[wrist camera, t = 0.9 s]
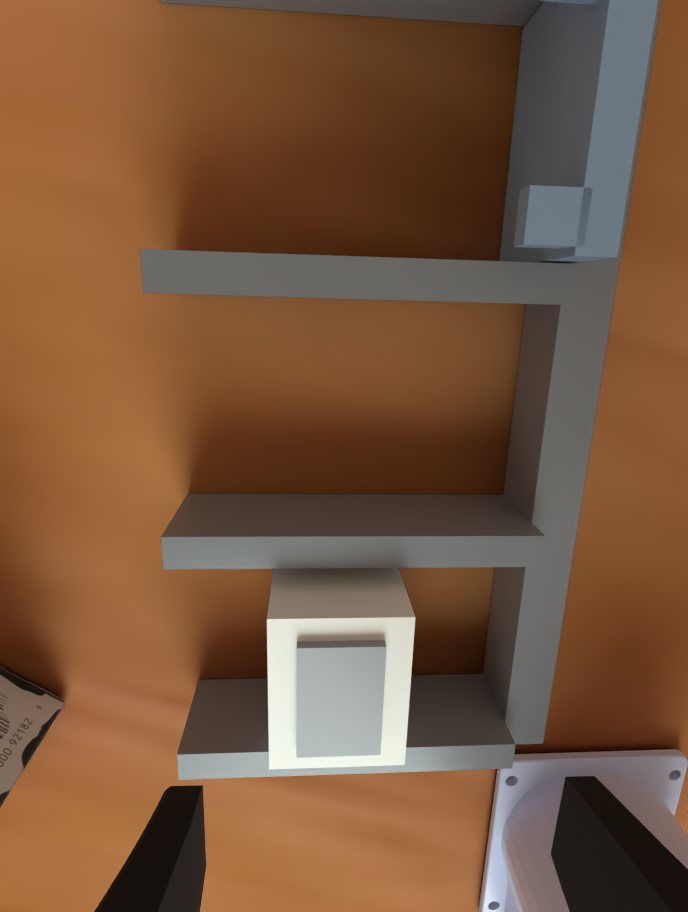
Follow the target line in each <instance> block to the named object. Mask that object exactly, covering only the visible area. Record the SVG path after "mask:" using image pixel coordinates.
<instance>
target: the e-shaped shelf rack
mask: <svg viewBox="0 0 688 912" xmlns="http://www.w3.org/2000/svg"><path fill="white" fill-rule="evenodd" d="M159 1H160V3H175V4H190V5H205V6H220V7H236V8H251V9H266V10H281V11H296V12H312V13H327V14H342V15H357V16H373V17H388V18H403V19H418V20H433V21H449V22H464V23H479V24H494V25H509V26H524V28H523V31H522V41H521V51H520V61H519V71H518V81H517V91H516V101H515V111H514V121H513V131H512V140H511V150H510V160H509V170H508V180H507V190H506V200H505V210H504V220H503V230H502V240H501V249H500V259H499V261H481V260H451V259H422V258H393V257H363V256H334V255H305V254H275V253H246V252H217V251H187V250H158V249H140V258H141V272H142V285H143V293H161V294H182V295H217V296H253V297H288V298H323V299H358V300H393V301H429V302H464V303H499V304H525V313H524V321H523V330H522V338H521V347H520V356H519V364H518V373H517V382H516V390H515V399H514V407H513V416H512V425H511V433H510V442H509V451H508V459H507V468H506V476H505V485H504V494H187V496H186V498H185V499H184V501H183V502H182V504H181V506H180V507H179V509H178V511H177V512H176V514H175V515H174V517H173V519H172V520H171V522H170V523H169V525H168V527H167V528H166V530H165V531H164V533H163V535H162V536H161V544H162V557H163V569H303V568H448V567H495V571H494V580H493V588H492V597H491V606H490V614H489V623H488V632H487V640H486V649H485V657H484V666H483V674H445V675H411V686H410V700H409V714H408V727H407V741H406V755H405V765H391V766H361V767H330V768H299V769H269V732H268V678H255V679H208V680H198V684H197V687H196V691H195V694H194V697H193V701H192V704H191V708H190V711H189V715H188V718H187V722H186V725H185V729H184V732H183V736H182V739H181V743H180V746H179V750H178V753H177V761H178V775H179V780H186V779H215V778H245V777H274V776H304V775H333V774H363V773H392V772H421V771H451V770H480V769H510V768H512V767H513V760H514V753H515V746H516V744H543V741H544V735H545V729H546V722H547V716H548V710H549V703H550V697H551V691H552V685H553V678H554V672H555V666H556V660H557V653H558V647H559V641H560V635H561V628H562V622H563V616H564V609H565V603H566V597H567V591H568V584H569V578H570V572H571V566H572V559H573V553H574V547H575V541H576V534H577V528H578V522H579V516H580V509H581V503H582V497H583V490H584V484H585V478H586V472H587V465H588V459H589V453H590V447H591V440H592V434H593V428H594V422H595V415H596V409H597V403H598V397H599V390H600V384H601V378H602V371H603V365H604V359H605V353H606V346H607V340H608V334H609V328H610V321H611V315H612V309H613V303H614V296H615V290H616V284H617V277H618V271H619V265H620V259H621V252H622V246H623V240H624V234H625V227H626V221H627V215H628V209H629V202H630V196H631V190H632V184H633V177H634V171H635V165H636V158H637V152H638V146H639V140H640V133H641V127H642V121H643V115H644V108H645V102H646V96H647V90H648V83H649V77H650V71H651V64H652V58H653V52H654V46H655V39H656V33H657V27H658V21H659V14H660V8H661V2H662V0H159Z"/></svg>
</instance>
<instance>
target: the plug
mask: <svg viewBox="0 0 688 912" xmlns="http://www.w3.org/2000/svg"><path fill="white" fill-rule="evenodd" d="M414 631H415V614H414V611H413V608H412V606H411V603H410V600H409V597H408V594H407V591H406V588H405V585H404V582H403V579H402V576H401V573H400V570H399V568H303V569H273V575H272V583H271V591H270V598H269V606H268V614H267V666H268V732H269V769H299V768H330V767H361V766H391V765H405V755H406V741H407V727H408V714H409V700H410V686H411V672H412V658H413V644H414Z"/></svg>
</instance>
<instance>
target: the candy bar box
mask: <svg viewBox="0 0 688 912" xmlns="http://www.w3.org/2000/svg"><path fill="white" fill-rule="evenodd" d="M64 706H65V702H64V700H63V699H61V698H59V697H58V696H56V695H54V694H52V693H50V692H49V691H47V690H45V689H43V688H41V687H39V686H37V685H35V684H33V683H31V682H29V681H27V680H25V679H23V678H21V677H19V676H17V675H15V674H14V673H12V672H10V671H8V670H7V669H5V668H4V667H2V666H0V807H1V805H2V804H3V802H4V800H5V799H6V797H7V795H8V794H9V792H10V791H11V789H12V788H13V786H14V784H15V783H16V781H17V780H18V778H19V776H20V775H21V773H22V772H23V770H24V768H25V767H26V765H27V763H28V762H29V760H30V759H31V757H32V755H33V754H34V752H35V751H36V749H37V747H38V746H39V744H40V743H41V741H42V739H43V738H44V736H45V734H46V733H47V731H48V729H49V728H50V726H51V725H52V723H53V721H54V720H55V719H56V717H57V716H58V714H59V713H60V712H61V710H62V709H63V707H64Z"/></svg>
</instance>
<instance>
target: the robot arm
mask: <svg viewBox="0 0 688 912" xmlns="http://www.w3.org/2000/svg"><path fill="white" fill-rule="evenodd" d="M687 765H688V760H687V758H686V757H685V756H684V754H683V753H682V752H681V751H679V750H676V749H666V750H635V751H604V752H573V753H541V754H514V760H513V767H512V768H510V769H497V777H496V784H495V792H494V799H493V807H492V814H491V822H490V829H489V837H488V844H487V852H486V860H485V867H484V875H483V882H482V890H481V897H480V905H479V912H688V835H687V834H686V832H685V831H684V829H683V828H682V826H681V825H680V824H679V822H678V821H677V819H676V818H675V817H674V816H675V813H676V809H677V805H678V801H679V797H680V793H681V789H682V785H683V781H684V777H685V773H686V769H687ZM510 776H512V777H510ZM508 777H510V778H508ZM205 870H206V853H205V830H204V806H203V786H170V787H169V788H168V789H167V790H166V791H165V792H164V794H163V796H162V798H161V800H160V802H159V804H158V806H157V807H156V809H155V811H154V813H153V815H152V817H151V819H150V821H149V822H148V824H147V826H146V828H145V830H144V831H143V833H142V835H141V837H140V838H139V840H138V842H137V844H136V845H135V847H134V849H133V850H132V852H131V854H130V855H129V857H128V859H127V861H126V862H125V864H124V865H123V867H122V869H121V870H120V872H119V873H118V875H117V877H116V878H115V880H114V881H113V883H112V885H111V886H110V888H109V889H108V891H107V893H106V894H105V896H104V897H103V899H102V901H101V902H100V904H99V905H98V907H97V908H96V910H95V912H200V905H201V898H202V891H203V884H204V877H205Z"/></svg>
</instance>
